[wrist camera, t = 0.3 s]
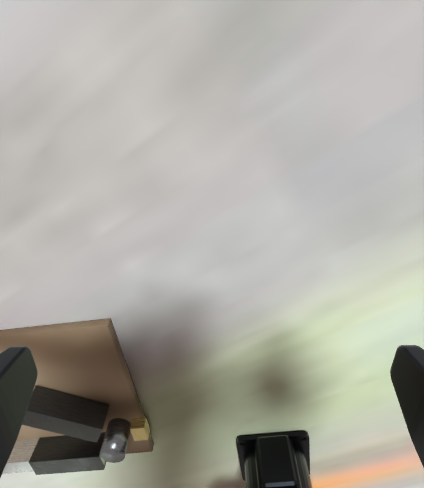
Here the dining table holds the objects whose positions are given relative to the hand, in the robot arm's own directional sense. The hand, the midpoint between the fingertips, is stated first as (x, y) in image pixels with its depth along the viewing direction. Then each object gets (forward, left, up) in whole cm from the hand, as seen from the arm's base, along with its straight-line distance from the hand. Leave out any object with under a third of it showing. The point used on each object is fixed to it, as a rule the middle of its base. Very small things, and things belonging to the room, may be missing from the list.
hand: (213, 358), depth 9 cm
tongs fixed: (-21, +18, -14) cm, 31 cm away
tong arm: (-15, +18, -13) cm, 27 cm away
